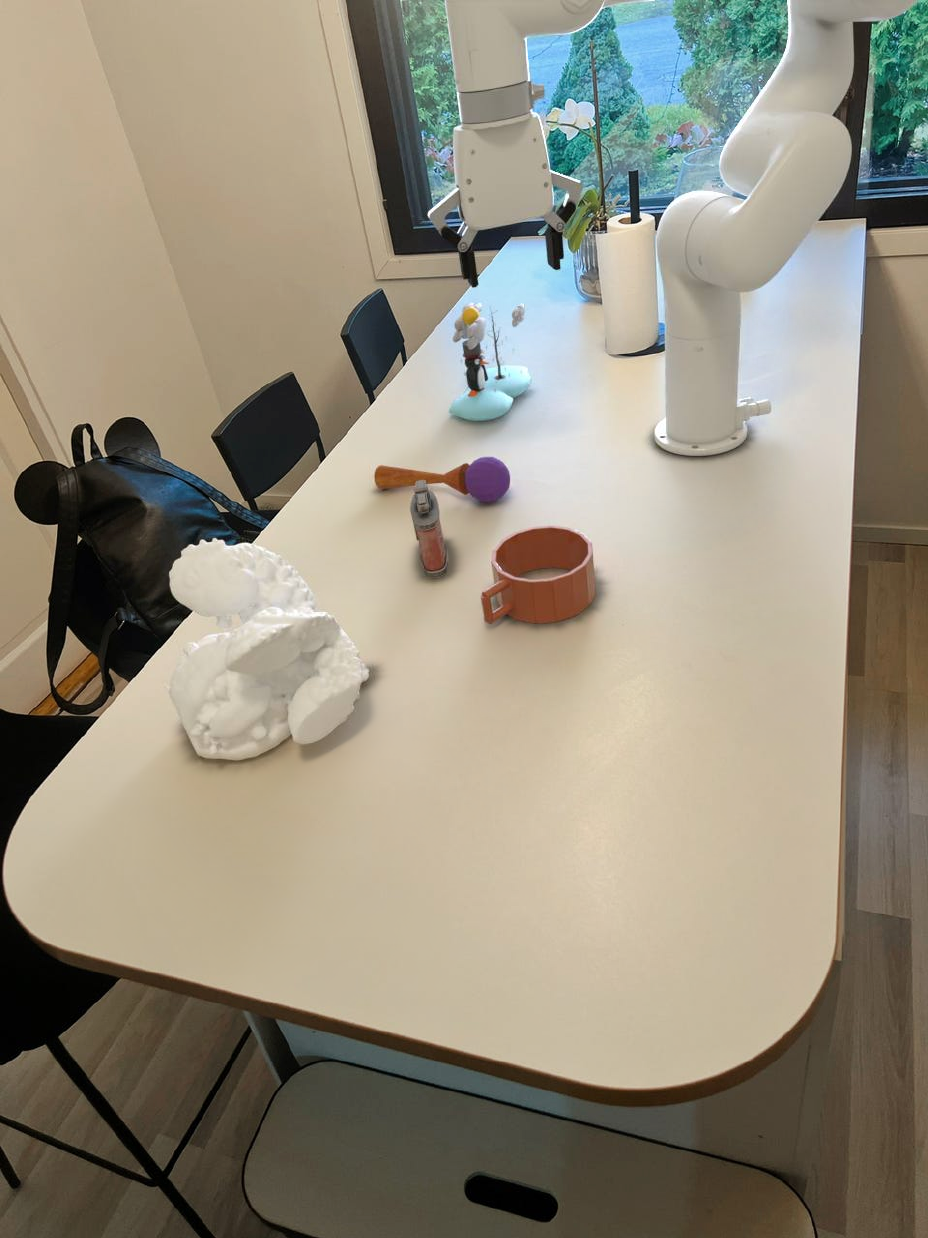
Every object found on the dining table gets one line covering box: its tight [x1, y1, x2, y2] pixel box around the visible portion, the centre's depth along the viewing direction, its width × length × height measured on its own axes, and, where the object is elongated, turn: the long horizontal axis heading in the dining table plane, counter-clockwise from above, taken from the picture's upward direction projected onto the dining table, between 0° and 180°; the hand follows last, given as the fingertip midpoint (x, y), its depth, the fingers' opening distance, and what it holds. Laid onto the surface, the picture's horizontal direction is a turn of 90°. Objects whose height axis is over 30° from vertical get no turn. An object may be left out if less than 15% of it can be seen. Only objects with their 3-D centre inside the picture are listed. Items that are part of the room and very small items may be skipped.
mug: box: [480, 525, 597, 625], centre depth 96 cm, size 14×11×6 cm
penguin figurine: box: [448, 302, 532, 422], centre depth 139 cm, size 20×11×15 cm, turn 157°
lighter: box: [409, 480, 449, 579], centre depth 104 cm, size 8×3×10 cm, turn 5°
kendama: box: [373, 456, 511, 503], centre depth 119 cm, size 6×6×20 cm
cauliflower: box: [164, 537, 370, 761], centre depth 85 cm, size 19×20×20 cm
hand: (513, 275), depth 100 cm, fingers open, 9 cm apart
